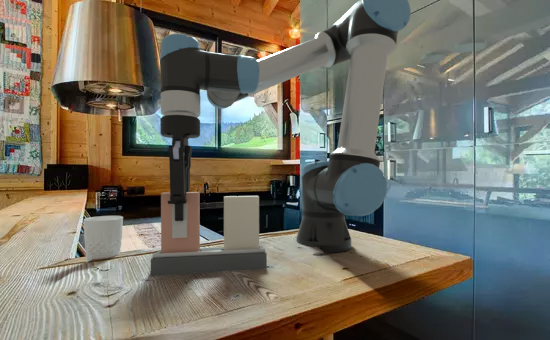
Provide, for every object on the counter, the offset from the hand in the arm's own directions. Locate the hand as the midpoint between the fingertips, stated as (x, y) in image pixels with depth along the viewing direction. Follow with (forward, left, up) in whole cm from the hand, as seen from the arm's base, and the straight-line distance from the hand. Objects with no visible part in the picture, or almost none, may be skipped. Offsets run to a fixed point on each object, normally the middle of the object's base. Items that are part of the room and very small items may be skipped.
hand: (181, 235), depth 58 cm
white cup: (+19, -14, -8) cm, 25 cm away
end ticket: (0, 0, -6) cm, 6 cm away
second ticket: (-12, 0, -7) cm, 13 cm away
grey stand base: (-6, 0, -8) cm, 10 cm away
